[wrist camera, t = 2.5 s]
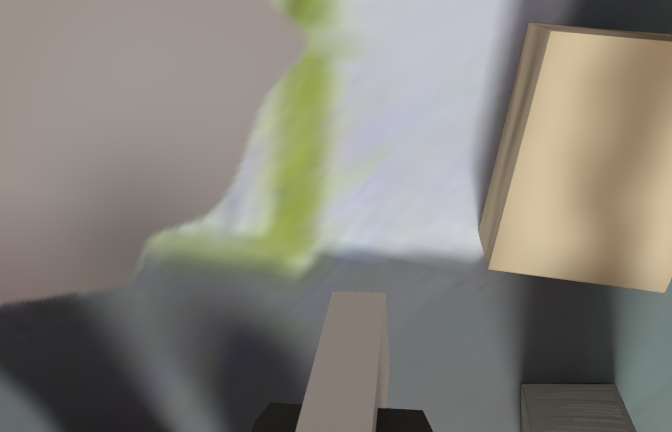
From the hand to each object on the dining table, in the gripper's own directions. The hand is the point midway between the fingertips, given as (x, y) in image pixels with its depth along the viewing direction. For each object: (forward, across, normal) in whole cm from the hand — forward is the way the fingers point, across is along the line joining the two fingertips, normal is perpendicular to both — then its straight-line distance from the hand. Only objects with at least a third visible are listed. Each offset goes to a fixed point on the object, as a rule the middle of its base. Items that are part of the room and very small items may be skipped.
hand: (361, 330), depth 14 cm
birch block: (+16, -11, 0) cm, 19 cm away
